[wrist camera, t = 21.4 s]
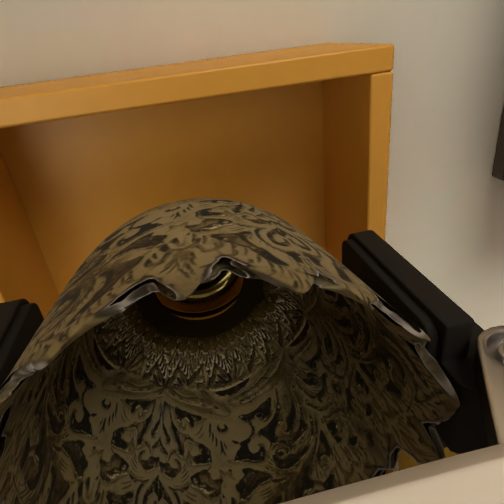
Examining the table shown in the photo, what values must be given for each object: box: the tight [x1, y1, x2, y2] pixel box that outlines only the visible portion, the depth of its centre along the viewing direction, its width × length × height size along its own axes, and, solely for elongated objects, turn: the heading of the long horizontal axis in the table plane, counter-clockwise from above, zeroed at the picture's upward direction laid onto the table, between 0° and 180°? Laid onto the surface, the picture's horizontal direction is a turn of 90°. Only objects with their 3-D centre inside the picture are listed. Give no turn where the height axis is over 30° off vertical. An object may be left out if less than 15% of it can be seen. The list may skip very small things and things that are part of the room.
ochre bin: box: [0, 43, 394, 319], centre depth 13 cm, size 11×11×4 cm
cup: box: [0, 198, 460, 504], centre depth 10 cm, size 8×7×8 cm
